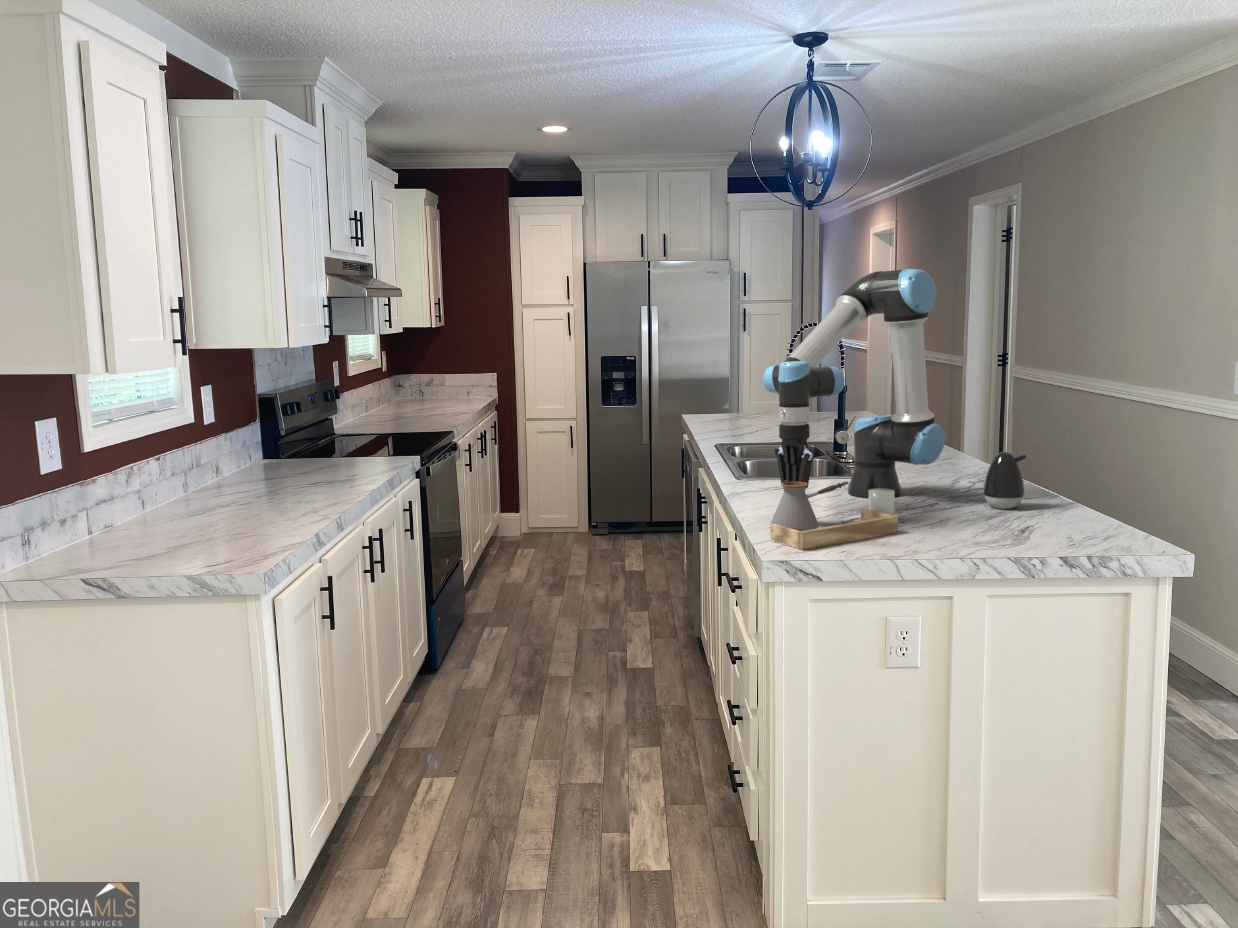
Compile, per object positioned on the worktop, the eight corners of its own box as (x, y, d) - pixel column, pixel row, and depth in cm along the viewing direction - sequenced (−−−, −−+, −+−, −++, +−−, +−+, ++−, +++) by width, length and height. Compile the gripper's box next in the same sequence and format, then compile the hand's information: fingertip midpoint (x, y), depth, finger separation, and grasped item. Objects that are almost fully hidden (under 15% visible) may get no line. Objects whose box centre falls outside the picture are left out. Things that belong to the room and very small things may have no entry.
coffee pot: (761, 535, 228) (760, 475, 226) (790, 527, 236) (790, 469, 233) (834, 550, 212) (834, 485, 210) (862, 541, 220) (863, 478, 218)
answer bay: (770, 540, 223) (770, 524, 222) (863, 524, 237) (863, 508, 237) (802, 550, 213) (802, 533, 212) (897, 532, 227) (897, 516, 227)
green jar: (862, 520, 242) (863, 490, 240) (881, 517, 245) (881, 487, 243) (881, 525, 236) (881, 494, 235) (899, 521, 239) (900, 491, 238)
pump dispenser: (1028, 511, 246) (1030, 454, 244) (986, 510, 249) (988, 454, 246) (1019, 503, 256) (1022, 449, 254) (979, 503, 258) (981, 449, 256)
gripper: (765, 422, 238) (766, 512, 242) (800, 426, 227) (800, 521, 231) (788, 419, 242) (789, 508, 245) (823, 424, 231) (823, 517, 234)
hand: (794, 514), depth 238 cm, fingers closed
